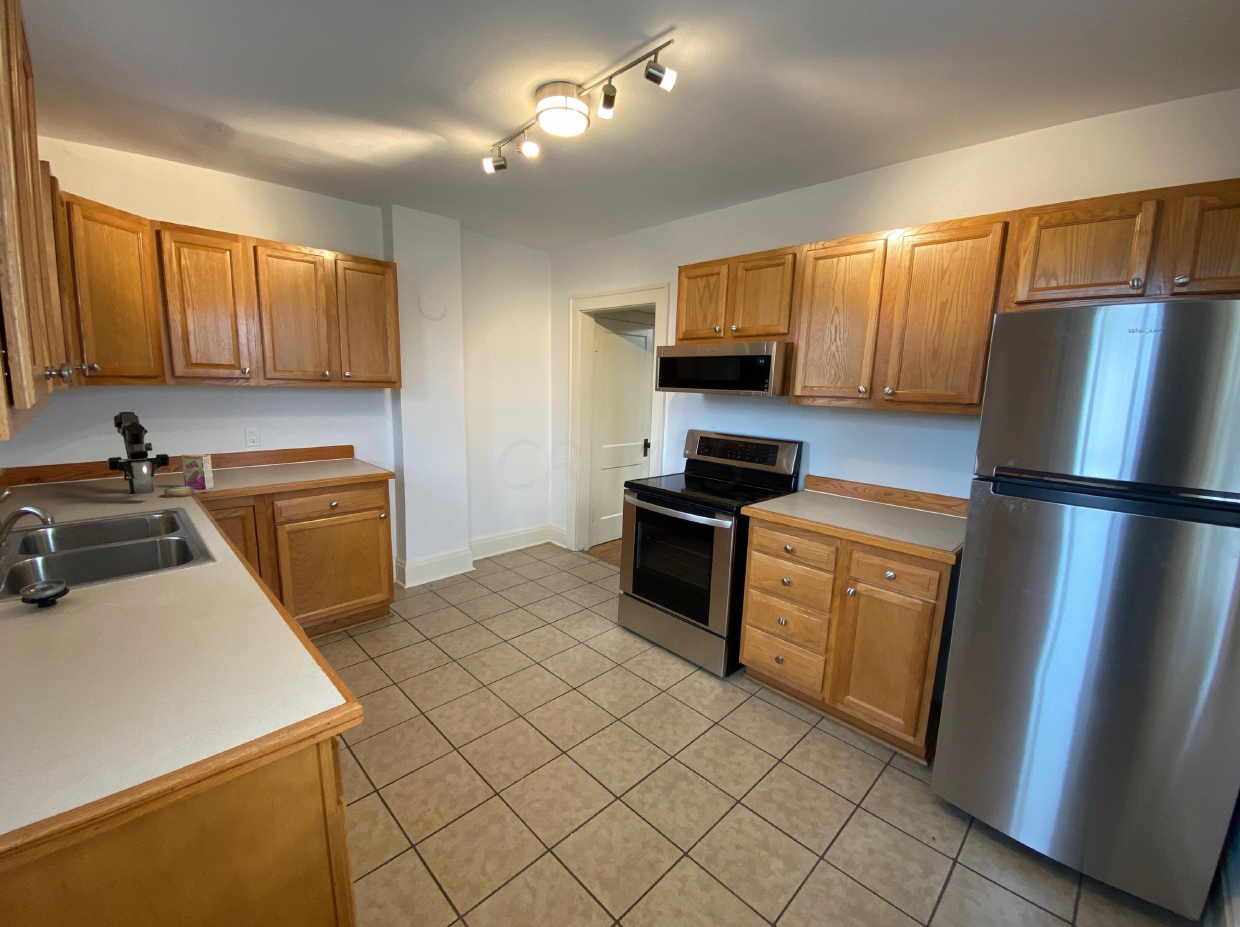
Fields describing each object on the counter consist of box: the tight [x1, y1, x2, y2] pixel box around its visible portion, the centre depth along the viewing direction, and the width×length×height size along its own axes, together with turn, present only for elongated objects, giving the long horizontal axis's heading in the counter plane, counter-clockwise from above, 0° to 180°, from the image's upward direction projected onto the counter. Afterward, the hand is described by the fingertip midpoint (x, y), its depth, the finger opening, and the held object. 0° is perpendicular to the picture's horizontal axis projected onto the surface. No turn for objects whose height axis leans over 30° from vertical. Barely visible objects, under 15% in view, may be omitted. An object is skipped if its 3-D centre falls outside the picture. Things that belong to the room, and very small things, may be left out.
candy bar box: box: [180, 453, 215, 490], centre depth 242 cm, size 11×5×16 cm, turn 84°
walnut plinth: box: [163, 486, 195, 498], centre depth 229 cm, size 10×10×3 cm
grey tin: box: [131, 461, 155, 495], centre depth 213 cm, size 6×6×13 cm
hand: (142, 477), depth 212 cm, fingers closed on grey tin, 6 cm apart
